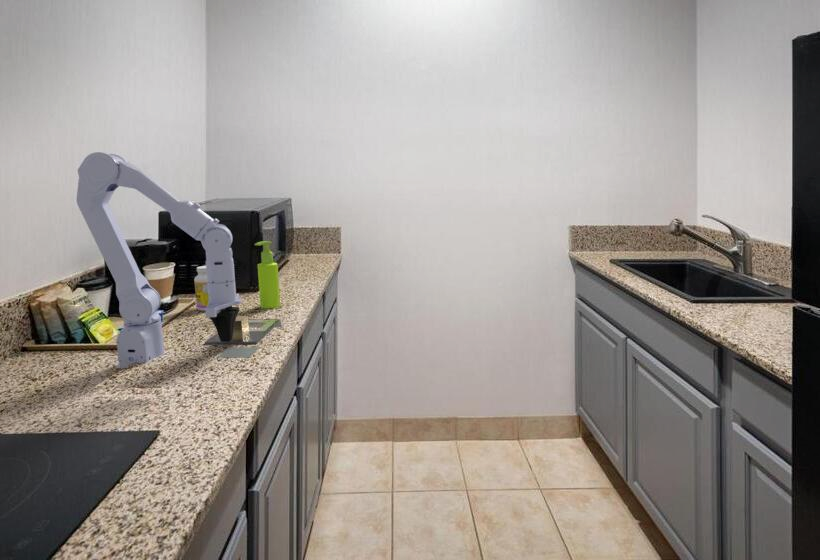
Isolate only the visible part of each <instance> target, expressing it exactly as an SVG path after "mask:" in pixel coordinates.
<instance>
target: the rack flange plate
mask: <svg viewBox="0 0 820 560" xmlns="http://www.w3.org/2000/svg"><path fill="white" fill-rule="evenodd" d="M248 324H249V335H248V336H247V337H246V338H244V339H243V340H231V341H230V342H221V341H220V338H219V335H218V332H217V333H215V334H213V336H210V338H208V339H207V340H206V341H204V345H258V344H259V342H261V341H262V340H263V339H264V338H265V337H266V336H267V335H268V334H269V333H270V332H271V331H272V330H273V329H274V328H281V327H282V319H281V318H279V319H278V318H276V319H275V318H273V319H272V318H270V319H269V318H267V319H264V318H263V319H262V318H260V319H258V318H257V319H253V318H252V319H251V318H248Z"/></svg>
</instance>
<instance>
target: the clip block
mask: <svg viewBox="0 0 820 560" xmlns="http://www.w3.org/2000/svg"><path fill="white" fill-rule="evenodd" d="M248 319H249V316H248V315H237V317H236V320H235V324H234V330H233V337H232V340H243V339H244V338H246V337H247V336H248V335H249V329H250V328H249V324H248Z"/></svg>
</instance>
